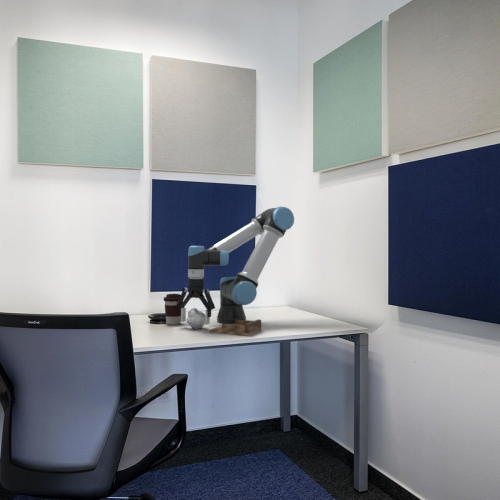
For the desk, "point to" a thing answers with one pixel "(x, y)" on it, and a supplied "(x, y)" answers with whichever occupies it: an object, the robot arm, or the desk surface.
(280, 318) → the desk surface
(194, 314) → the silver round lump
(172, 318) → the coffee cup
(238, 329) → the open wooden box
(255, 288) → the robot arm
